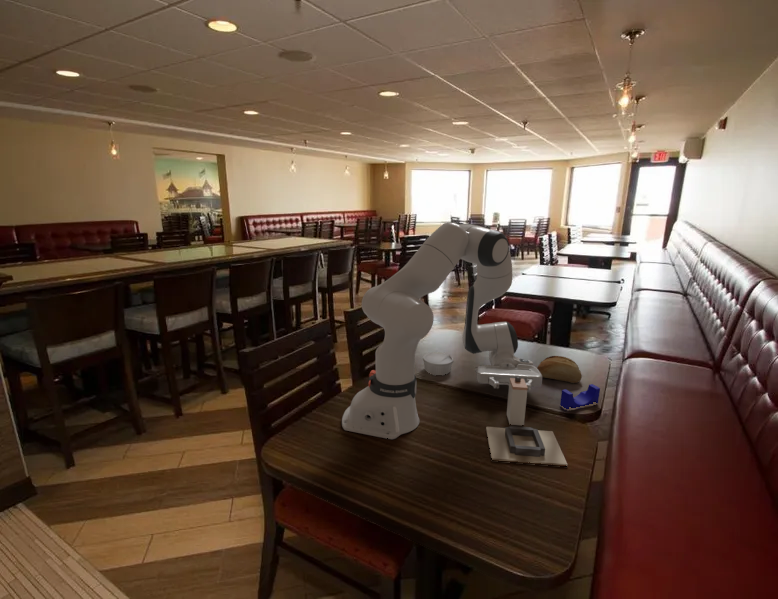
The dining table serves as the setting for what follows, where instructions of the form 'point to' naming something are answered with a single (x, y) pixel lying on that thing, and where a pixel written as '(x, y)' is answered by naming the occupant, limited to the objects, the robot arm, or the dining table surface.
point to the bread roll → (560, 369)
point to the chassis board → (524, 445)
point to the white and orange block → (516, 401)
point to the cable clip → (580, 397)
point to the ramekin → (437, 363)
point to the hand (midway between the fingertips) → (512, 387)
